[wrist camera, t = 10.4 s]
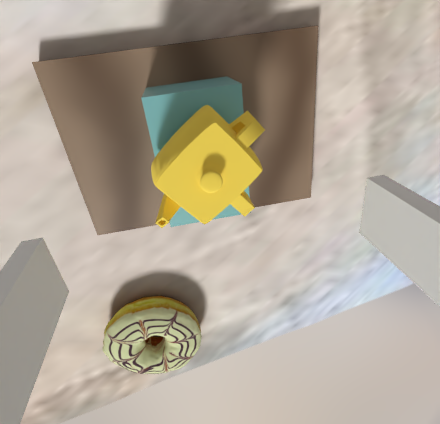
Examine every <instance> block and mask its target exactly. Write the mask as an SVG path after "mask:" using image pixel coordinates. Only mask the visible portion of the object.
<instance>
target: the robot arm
mask: <svg viewBox="0 0 440 424" xmlns="http://www.w3.org/2000/svg"><path fill="white" fill-rule="evenodd" d="M359 233H360V234H361V235H362V236H364V237H365V238H366V239H367V240H368V241H369V242H370V243H371V244H372V245H373V246H374V247H375V248H377V249H378V250H379V251H380V252H381V253H382V254H383V255H384V256H385V257H386V258H387V259H388V260H390V261H391V262H392V263H393V264H394V265H395V266H396V267H397V268H398V269H399V270H400V271H401V272H403V273H404V274H405V275H406V276H407V277H408V278H409V279H410V280H411V281H412V282H413V283H414V284H416V285H417V286H418V287H419V288H420V289H421V290H422V291H423V292H424V293H425V294H426V295H427V296H429V297H430V298H431V299H432V300H433V301H434V302H435V303H436V304H437V305H438V306H439V307H440V206H438V205H436V204H434V203H433V202H431V201H429V200H427V199H426V198H424V197H422V196H420V195H418V194H417V193H415V192H413V191H411V190H410V189H408V188H406V187H404V186H403V185H401V184H399V183H397V182H395V181H394V180H392V179H390V178H388V177H387V176H385V175H380V176H375V177H370V178H367V181H366V188H365V195H364V202H363V209H362V216H361V223H360V230H359ZM68 293H69V290H68V288H67V286H66V284H65V282H64V280H63V278H62V276H61V274H60V272H59V270H58V268H57V266H56V264H55V262H54V260H53V258H52V256H51V254H50V252H49V250H48V248H47V246H46V243H45V241H44V239H43V238H39V239H33V240H28V241H22V242H21V243H20V244H19V246H18V247H17V249H16V250H15V251H14V253H13V254H12V256H11V257H10V258H9V260H8V261H7V263H6V264H5V265H4V267H3V268H2V270H1V271H0V424H20V422H21V419H22V417H23V414H24V411H25V409H26V406H27V403H28V401H29V398H30V395H31V392H32V390H33V387H34V384H35V382H36V379H37V376H38V374H39V371H40V368H41V366H42V363H43V360H44V357H45V355H46V352H47V349H48V347H49V344H50V341H51V339H52V336H53V333H54V330H55V328H56V325H57V322H58V320H59V317H60V314H61V312H62V309H63V306H64V304H65V301H66V298H67V295H68Z"/></svg>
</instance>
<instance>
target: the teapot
mask: <svg viewBox="0 0 440 424" xmlns="http://www.w3.org/2000/svg"><path fill="white" fill-rule="evenodd" d="M264 131H265V129H264V128H263V127H262V126H261V125H260V124H259V122H258V121H257V120H256V119H255V118H254V117H253V116H252V115H251V114H250V113H249V112H248V111H246V112H245V113H244V114H242V115H241V116H240V117H238V118H237V119H236V120H234V121H233V122H232V123H230V124H228V123H227V122H226V121H225V120H224V119H223V118H222V117H221V116H220V115H219V114H218V113H217V112H216V111H215V110H214V109H213V108H212V107H210V106H209V105H205V106H203V107H202V108H200V109H199V110H198V111H197V112H196V113H195V114H194V115H193V116H192V117H191V118H190V119H189V120H187V121H186V122H185V123H184V124H183V125H182V126H181V127H180V128H179V129H178V131H177V132H176V133H175V134H174V135H173V136H172V137H171V138H170V140H169V141H168V142H167V143H166V144H165V145H164V147H163V148H162V149H161V150H160V152H159V153H158V154H157V156H156V157H155V158H154V160H153V162H152V165H151V173H152V179H153V183H154V185H155V186H156V187H157V188H158V189H159V190H160V191H162V192H163V193H164V195H163V198H162V202H161V205H160V208H159V212H158V215H157V219H156V222H155V223H156V224H157V225H159V226H160V227H161V228H163V227H164V226H165V225H166V224H168V223H169V221H170V220H171V218H172V217H173V216H174V214H175V213H176V212H177V211H178V209H179V208H180V207H182V208H183V209H184V210H186V211H187V212H188V213H190V214H191V215H192V216H193V217H195V218H196V219H197V220H199V221H200V222H202V223H203V224H206V223H208V222H209V221H211V220H212V219H213V218H214V217H216V216H217V215H218V214H219V213H220V212H222V211H223V210H224V209H225V208H226V207H227V206H228V205H229V204H231V205H232V206H233V207H234V208H235V209H236V210H238V211H239V212H240V213H241V214H242V215H243V216H246V215H247V214H248V213H249V212H250V211H252V210H253V209H254V208H255V207H254V205H253V203H252V202H251V200H250V198H249V196H248V194H247V193H246V192H245V191H244V190H245V189H246V188H247V187H248V186H249V185H250V184H251V183H252V182H253V181H254V180H255V179H256V178H257V177H258V176H259V174H260V173H261V172H262V170H263V169H262V166H261V163H260V161H259V159H258V157H257V156H256V154H255V153H254V151H253V150H252V149H251V148H250V147H249V146H250V145H251V144H252V143H253V142H254V141H255V140H256V139H257V138H258V137H259V136H260V135H261V134H262V133H263V132H264Z"/></svg>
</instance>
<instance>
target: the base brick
mask: <svg viewBox="0 0 440 424" xmlns="http://www.w3.org/2000/svg"><path fill="white" fill-rule="evenodd" d="M141 99H142V103H143V108H144V112H145V116H146V121H147V125H148V129H149V134H150V138H151V143H152V147H153V151H154V156H155V157H156V156H157V154H158V153H159V152H160V150H161V149H162V148H163V147H164V145H165V144H166V143H167V142H168V141H169V140H170V138H171V137H172V136H173V135H174V134H175V133H176V132H177V131H178V129H179V128H180V127H181V126H182V125H183V124H184V123H185V122H186V121H187V120H189V119H190V118H191V117H192V116H193V115H194V114H195V113H196V112H197V111H198V110H199V109H200V108H202V107H203V106H205V105H209V106H210V107H212V108H213V109H214V110H215V111H216V112H217V113H218V114H219V115H220V116H221V117H222V118H223V119H224V120H225V121H226V122H227V123H228V124H230V123H232V122H233V121H234V120H236V119H237V118H238V117H240V116H241V115H242V114H244V111H243V97H242V83H240V82H237V81H235V80H233V79H231V78H229V77H227V76H226V77H219V78H212V79H204V80H197V81H190V82H183V83H176V84H169V85H161V86H154V87H147V88H146V89H145V91H144V93H143V95H142V97H141ZM244 191H245V192H246V193H247V194H248V196H249V186H248V187H247V188H246V189H245V190H244ZM163 195H164V193H163ZM249 198H250V196H249ZM249 213H251V211H250V212H249ZM240 214H241V213H240V212H239V211H238V210H236V209H235V208H234V207H233V206H232V205H231V204H229V205H228V206H227V207H226V208H225V209H224V210H223V211H222V212H220V213H219V214H218V215H217V216H216V217H214V218H213V219H218V218H224V217H229V216H235V215H240ZM196 222H200V221H199V220H197V219H196V218H195V217H193V216H192V215H191V214H190V213H188V212H187V211H186V210H184V209H183V208H182V207H180V208H179V209H178V211H177V212H176V213H175V214H174V216H173V217H172V218H171V220H170V225H171V227H174V226H179V225H185V224H190V223H196Z"/></svg>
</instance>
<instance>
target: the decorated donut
mask: <svg viewBox="0 0 440 424" xmlns="http://www.w3.org/2000/svg"><path fill="white" fill-rule="evenodd" d="M104 334H105V337H104V341H103V344H104V346H103V352H104V353H105V354H106V355H107V356H108V357H109V360H110V361H111V362H113V363H115V364H117V365H118V366H121V367H123V368H124V369H126V370H129V371H132V372H135V373H140V374H159V373H166V372H169V371H172V370H177V369H180V368H181V367H183V366H185V365H186V364H187V363H188V362H189V361H190V360H191V358H192V357H193V356H194V355H195V353H196V352H197V350H198V349H199V347H200V343H201V330H200V325H199V323H198V320H197V318H196V316H195V315H194V313H193V312H192V311H191V309H190V308H189V307H187V306H186V305H185V304H184V303H182V302H180V301H178V300H175V299H172V298H168V297H164V296H153V297H144V298H141V299H138V300H135V301H134V302H131V303H128V304H126V305H125V306H124V307H122V308H121V309H120V310H119V311H118V312H117V313H116V314H115V315H114V317H113V318H112V319H111V320H110V321H109V322H108V325H107V326H106V328H105V331H104ZM153 335H158V336H159V337H153Z"/></svg>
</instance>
